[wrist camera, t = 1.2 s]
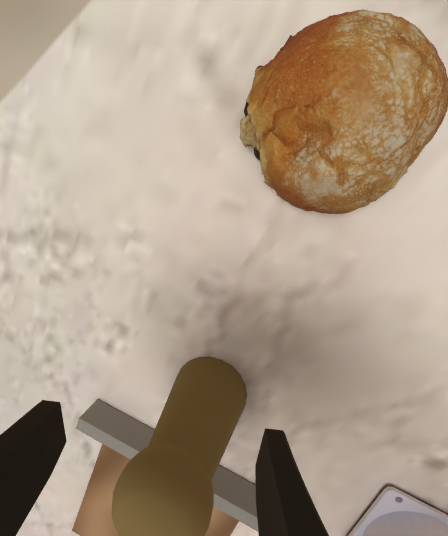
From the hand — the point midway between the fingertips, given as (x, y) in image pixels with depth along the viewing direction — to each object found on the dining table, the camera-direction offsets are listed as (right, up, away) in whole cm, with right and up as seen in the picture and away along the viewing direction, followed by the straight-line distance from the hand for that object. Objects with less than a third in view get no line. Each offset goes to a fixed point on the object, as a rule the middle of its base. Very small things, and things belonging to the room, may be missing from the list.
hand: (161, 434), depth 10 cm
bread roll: (+9, +15, +8) cm, 19 cm away
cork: (+1, -4, +14) cm, 15 cm away
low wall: (-1, -10, +16) cm, 19 cm away
